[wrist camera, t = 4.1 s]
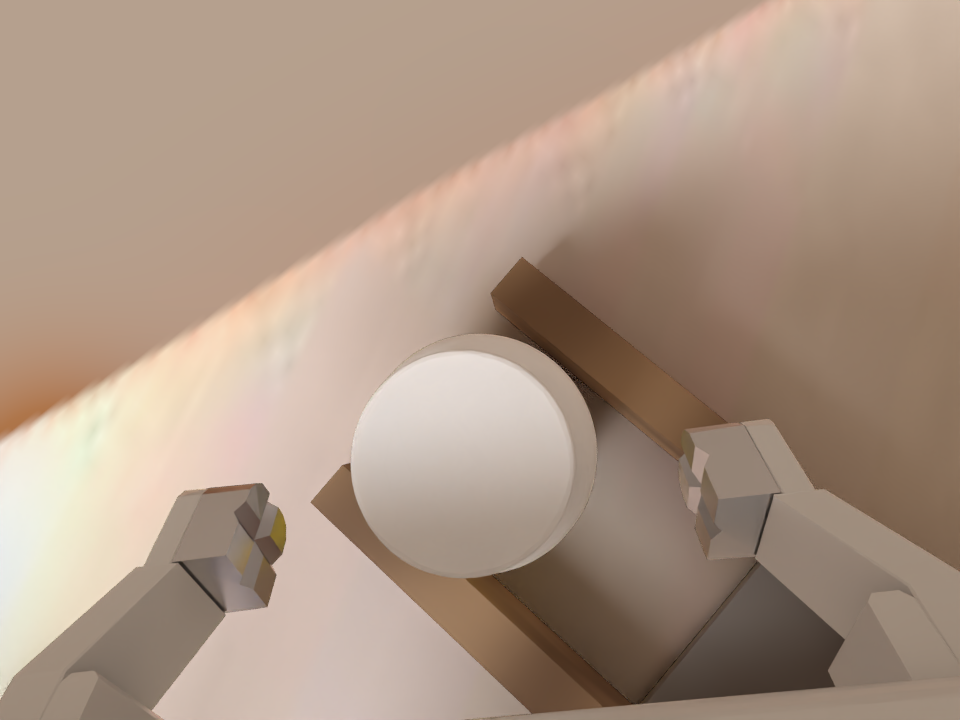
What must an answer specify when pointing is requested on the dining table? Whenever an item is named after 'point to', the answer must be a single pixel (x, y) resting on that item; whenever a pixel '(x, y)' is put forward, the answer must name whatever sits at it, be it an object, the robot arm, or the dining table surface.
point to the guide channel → (522, 635)
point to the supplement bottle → (474, 457)
